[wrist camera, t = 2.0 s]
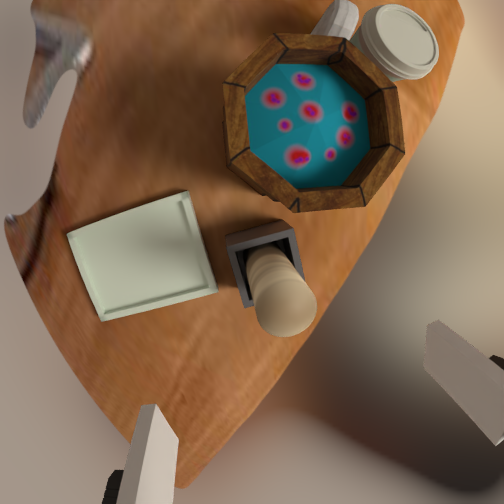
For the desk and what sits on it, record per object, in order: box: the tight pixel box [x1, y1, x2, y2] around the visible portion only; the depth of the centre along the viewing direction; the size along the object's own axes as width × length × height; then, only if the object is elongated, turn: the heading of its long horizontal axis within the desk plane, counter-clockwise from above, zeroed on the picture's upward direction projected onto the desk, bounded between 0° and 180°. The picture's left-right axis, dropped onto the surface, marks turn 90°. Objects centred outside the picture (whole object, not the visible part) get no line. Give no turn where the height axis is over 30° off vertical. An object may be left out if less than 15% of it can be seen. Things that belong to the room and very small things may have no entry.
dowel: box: [243, 241, 317, 337], centre depth 28 cm, size 4×4×14 cm
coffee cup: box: [350, 4, 439, 82], centre depth 24 cm, size 8×8×12 cm
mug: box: [222, 0, 405, 213], centre depth 24 cm, size 20×14×15 cm
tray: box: [67, 190, 218, 322], centre depth 33 cm, size 12×16×1 cm
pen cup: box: [225, 220, 305, 308], centre depth 32 cm, size 7×7×6 cm
